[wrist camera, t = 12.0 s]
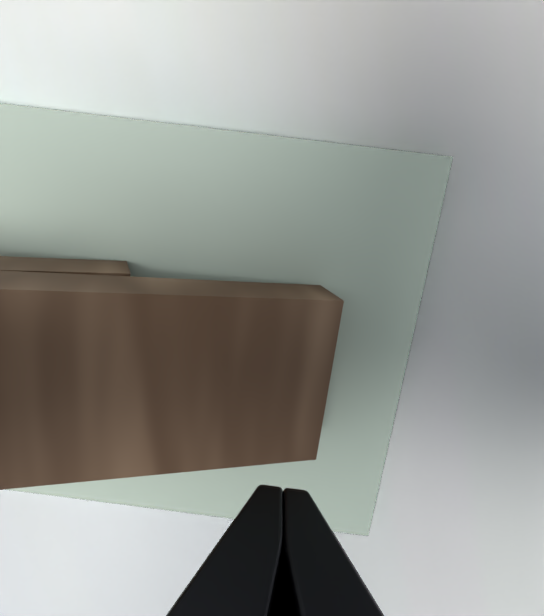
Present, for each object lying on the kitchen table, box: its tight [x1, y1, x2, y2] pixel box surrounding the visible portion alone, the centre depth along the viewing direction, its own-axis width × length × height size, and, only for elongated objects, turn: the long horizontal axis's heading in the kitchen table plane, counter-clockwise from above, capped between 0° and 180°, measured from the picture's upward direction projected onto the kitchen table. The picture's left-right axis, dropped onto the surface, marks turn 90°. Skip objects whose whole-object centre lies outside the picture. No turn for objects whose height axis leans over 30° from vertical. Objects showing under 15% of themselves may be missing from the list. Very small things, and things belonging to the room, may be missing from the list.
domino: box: [0, 271, 344, 490], centre depth 11 cm, size 2×5×10 cm
